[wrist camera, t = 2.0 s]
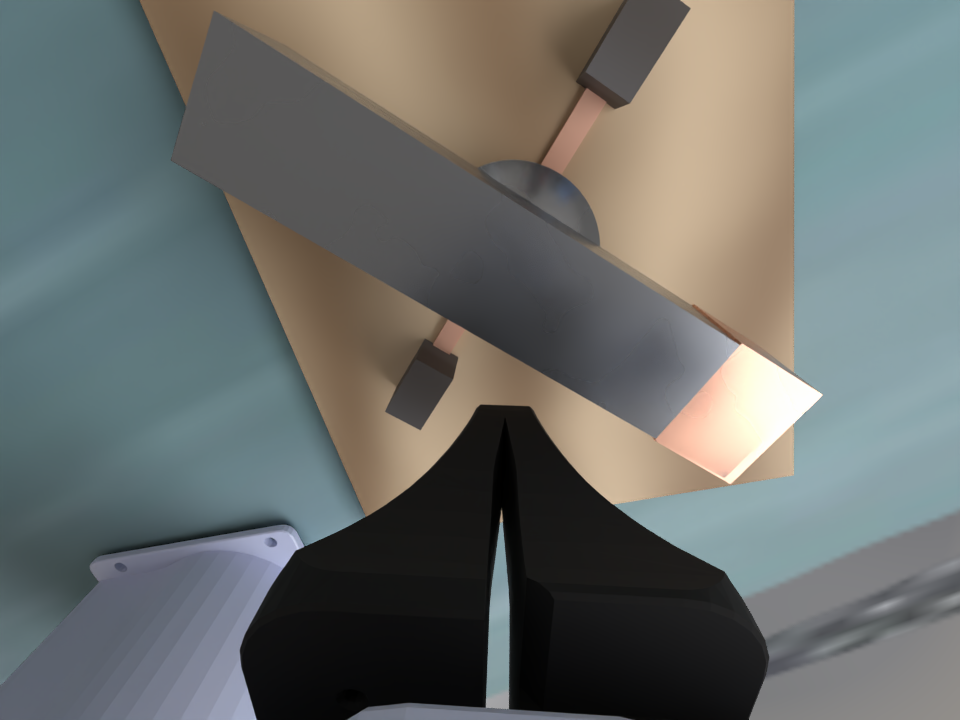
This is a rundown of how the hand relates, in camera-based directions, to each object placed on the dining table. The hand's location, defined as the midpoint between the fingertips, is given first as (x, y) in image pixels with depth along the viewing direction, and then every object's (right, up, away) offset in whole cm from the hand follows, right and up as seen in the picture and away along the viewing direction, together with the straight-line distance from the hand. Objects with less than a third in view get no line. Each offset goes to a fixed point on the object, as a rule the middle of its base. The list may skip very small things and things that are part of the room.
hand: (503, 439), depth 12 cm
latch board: (0, +6, +2) cm, 6 cm away
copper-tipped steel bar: (0, +5, 0) cm, 5 cm away
